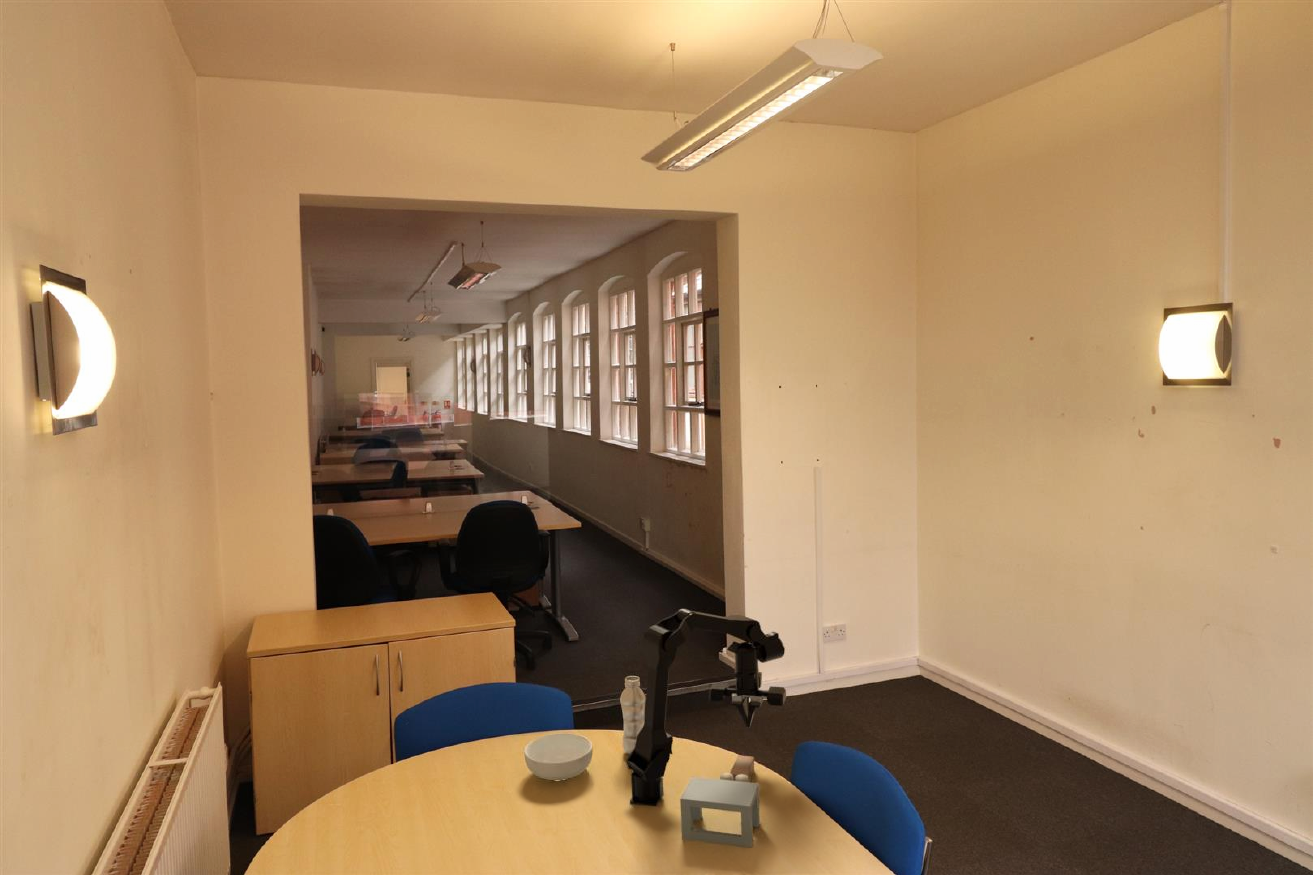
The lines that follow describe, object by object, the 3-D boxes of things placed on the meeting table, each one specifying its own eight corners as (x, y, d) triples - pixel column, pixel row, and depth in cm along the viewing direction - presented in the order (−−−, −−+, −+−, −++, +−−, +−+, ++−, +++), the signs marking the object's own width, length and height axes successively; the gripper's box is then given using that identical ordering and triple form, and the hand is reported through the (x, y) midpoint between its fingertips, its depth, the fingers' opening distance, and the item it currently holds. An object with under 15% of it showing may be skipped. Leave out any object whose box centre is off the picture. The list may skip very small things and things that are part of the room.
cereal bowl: (540, 797, 205) (539, 768, 205) (516, 769, 220) (514, 742, 219) (605, 777, 214) (603, 750, 213) (577, 752, 228) (576, 726, 227)
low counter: (681, 838, 185) (680, 798, 184) (693, 814, 194) (691, 776, 194) (751, 847, 181) (750, 806, 180) (759, 822, 190) (758, 783, 189)
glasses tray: (732, 768, 216) (731, 748, 216) (760, 770, 214) (759, 751, 214) (716, 804, 199) (715, 783, 198) (746, 807, 197) (745, 786, 196)
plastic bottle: (645, 758, 223) (642, 683, 221) (619, 757, 224) (616, 682, 222) (650, 747, 229) (647, 674, 227) (625, 746, 231) (622, 673, 229)
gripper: (788, 657, 222) (790, 716, 224) (717, 653, 228) (719, 711, 229) (782, 673, 212) (783, 734, 213) (707, 668, 217) (709, 728, 218)
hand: (748, 726), depth 219 cm, fingers closed
